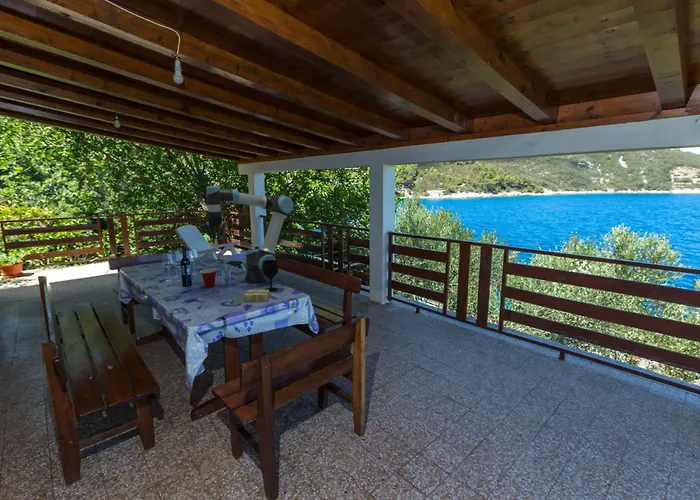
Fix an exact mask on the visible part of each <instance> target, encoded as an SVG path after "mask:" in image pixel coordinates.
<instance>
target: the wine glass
mask: <svg viewBox="0 0 700 500" xmlns="http://www.w3.org/2000/svg"><path fill="white" fill-rule="evenodd" d="M262 271H263V274H264V275H265V276H266V279H267V278H268V279H269V287H267V288H265V289H264V290H269V293H270V292H276V291H278V292H279V291H280V289H279V288H278V287H273V285H272V284H273V283H272V282H273V279H274V278H275V277H276V276H277V275H278V273H279V263H278V261H277V260H276V259H275V260H265V261H263V265H262Z"/></svg>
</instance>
